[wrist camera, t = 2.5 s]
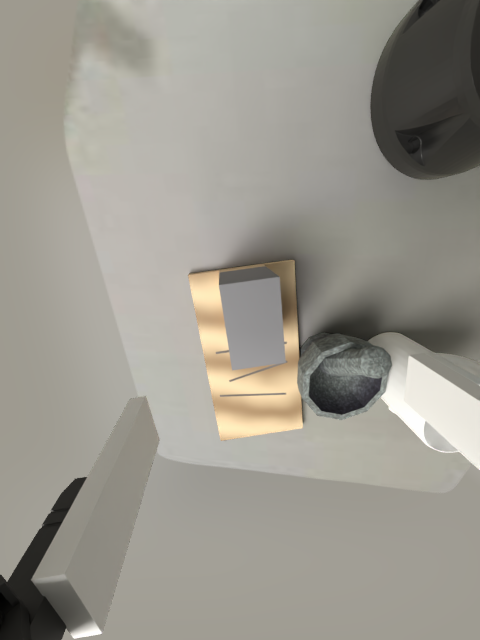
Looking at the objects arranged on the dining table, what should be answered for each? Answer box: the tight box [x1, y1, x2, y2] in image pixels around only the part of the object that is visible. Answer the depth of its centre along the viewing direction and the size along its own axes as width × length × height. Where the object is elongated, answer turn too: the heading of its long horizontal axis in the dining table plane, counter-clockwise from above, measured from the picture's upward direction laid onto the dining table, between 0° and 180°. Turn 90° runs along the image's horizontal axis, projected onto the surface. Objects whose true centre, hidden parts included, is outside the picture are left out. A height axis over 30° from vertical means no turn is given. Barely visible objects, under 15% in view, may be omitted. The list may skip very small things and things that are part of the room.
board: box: [188, 260, 303, 441], centre depth 32 cm, size 24×12×1 cm, turn 7°
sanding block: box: [219, 265, 286, 370], centre depth 25 cm, size 8×5×8 cm, turn 7°
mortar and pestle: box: [297, 332, 392, 420], centre depth 27 cm, size 11×9×12 cm
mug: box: [367, 332, 480, 452], centre depth 29 cm, size 8×12×12 cm
